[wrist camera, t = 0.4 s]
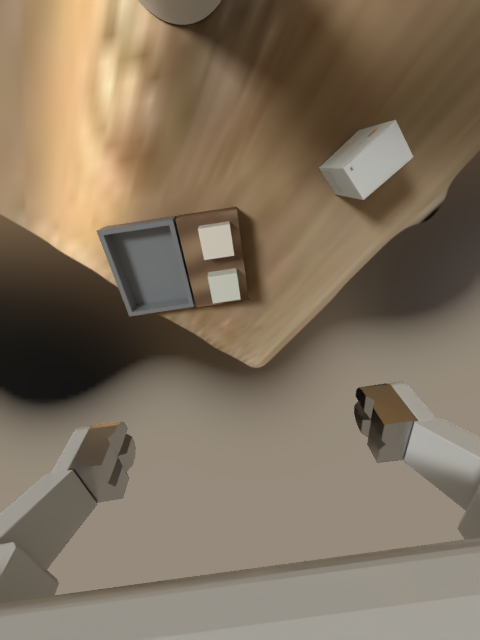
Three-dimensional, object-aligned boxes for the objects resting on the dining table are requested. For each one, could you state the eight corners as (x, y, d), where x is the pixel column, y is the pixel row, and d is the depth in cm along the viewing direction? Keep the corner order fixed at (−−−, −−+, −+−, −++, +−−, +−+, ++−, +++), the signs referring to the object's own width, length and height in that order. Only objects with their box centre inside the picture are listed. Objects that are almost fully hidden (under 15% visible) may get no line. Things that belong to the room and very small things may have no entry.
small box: (335, 195, 47) (362, 202, 38) (317, 167, 45) (341, 168, 36) (376, 159, 45) (415, 157, 36) (359, 128, 43) (397, 118, 34)
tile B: (208, 272, 49) (207, 277, 46) (236, 268, 49) (236, 272, 46) (213, 297, 51) (212, 303, 49) (239, 293, 51) (240, 299, 49)
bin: (104, 226, 48) (96, 231, 45) (175, 215, 47) (172, 219, 44) (134, 308, 55) (129, 316, 52) (195, 299, 55) (194, 306, 52)
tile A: (198, 225, 45) (197, 228, 42) (229, 221, 45) (229, 224, 42) (204, 255, 47) (204, 260, 45) (233, 251, 47) (234, 255, 45)
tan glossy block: (178, 215, 47) (175, 219, 44) (235, 206, 47) (237, 210, 44) (197, 298, 55) (196, 307, 52) (247, 291, 55) (248, 299, 52)
